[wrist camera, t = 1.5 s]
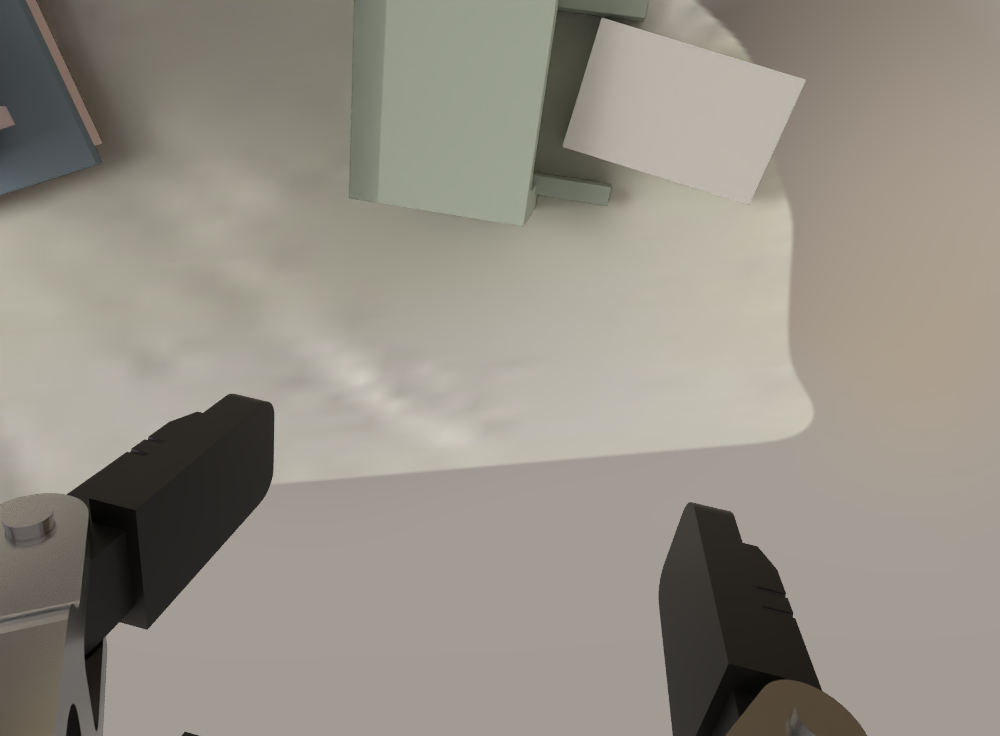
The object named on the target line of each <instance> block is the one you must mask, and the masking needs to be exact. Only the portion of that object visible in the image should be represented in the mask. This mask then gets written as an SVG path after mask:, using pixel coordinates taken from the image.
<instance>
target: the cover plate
mask: <svg viewBox="0 0 1000 736" xmlns="http://www.w3.org/2000/svg"><path fill="white" fill-rule="evenodd" d="M805 81H806V80H805V79H802V78H799V77H795V76H792V75H789V74H785V73H782V72H779V71H776V70H772V69H769V68H766V67H763V66H759V65H756V64H753V63H750V62H746V61H743V60H740V59H736V58H733V57H730V56H727V55H723V54H720V53H717V52H713V51H710V50H707V49H704V48H700V47H697V46H694V45H691V44H687V43H684V42H681V41H677V40H674V39H671V38H668V37H664V36H661V35H658V34H655V33H651V32H648V31H645V30H641V29H638V28H635V27H632V26H628V25H625V24H622V23H618V22H615V21H612V20H609V19H605V18H601V21H600V25H599V28H598V31H597V35H596V38H595V41H594V44H593V48H592V51H591V54H590V57H589V61H588V64H587V67H586V71H585V74H584V77H583V80H582V84H581V87H580V90H579V93H578V97H577V100H576V103H575V107H574V110H573V113H572V116H571V120H570V123H569V126H568V130H567V133H566V136H565V139H564V143H563V146H562V147H564V148H568V149H571V150H574V151H577V152H580V153H584V154H587V155H590V156H593V157H596V158H600V159H603V160H606V161H609V162H612V163H616V164H619V165H622V166H625V167H628V168H631V169H635V170H638V171H641V172H644V173H647V174H651V175H654V176H657V177H660V178H663V179H667V180H670V181H673V182H676V183H679V184H683V185H686V186H689V187H692V188H695V189H699V190H702V191H705V192H708V193H711V194H715V195H718V196H721V197H724V198H727V199H731V200H734V201H737V202H740V203H743V204H747V205H750V202H751V200H752V198H753V196H754V194H755V191H756V189H757V187H758V185H759V183H760V180H761V178H762V176H763V174H764V172H765V169H766V167H767V165H768V163H769V161H770V158H771V156H772V154H773V152H774V150H775V147H776V145H777V143H778V141H779V139H780V136H781V134H782V132H783V130H784V127H785V125H786V123H787V121H788V119H789V116H790V114H791V112H792V110H793V107H794V105H795V103H796V101H797V99H798V96H799V94H800V92H801V90H802V88H803V86H804V83H805Z"/></svg>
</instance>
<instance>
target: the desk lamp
mask: <svg viewBox="0 0 1000 736" xmlns="http://www.w3.org/2000/svg"><path fill="white" fill-rule="evenodd" d="M99 144H102V141H101V139H100V137H99V135H98V132H97V130H96V128H95V126H94V124H93V122H92V120H91V117H90V115H89V113H88V111H87V109H86V107H85V105H84V102H83V100H82V98H81V96H80V94H79V92H78V90H77V87H76V85H75V83H74V81H73V79H72V77H71V74H70V72H69V70H68V68H67V66H66V64H65V62H64V59H63V57H62V55H61V53H60V51H59V49H58V47H57V44H56V42H55V40H54V38H53V36H52V34H51V32H50V29H49V27H48V25H47V23H46V21H45V19H44V17H43V14H42V12H41V10H40V8H39V6H38V4H37V2H36V0H0V196H1V195H4V194H7V193H10V192H13V191H17V190H20V189H23V188H26V187H29V186H32V185H35V184H38V183H42V182H45V181H48V180H51V179H54V178H57V177H60V176H63V175H67V174H70V173H73V172H76V171H79V170H82V169H85V168H89V167H92V166H95V165H98V164H101V163H102V161H101V159H100V156H99V154H98V152H97V150H96V148H95V146H96V145H99Z"/></svg>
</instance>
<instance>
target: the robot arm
mask: <svg viewBox="0 0 1000 736" xmlns="http://www.w3.org/2000/svg"><path fill="white" fill-rule="evenodd" d="M273 462H274V409H273V406H272V404H271V403H270V402H266V401H262V400H258V399H254V398H249V397H245V396H241V395H237V394H229V395H227V396H225V397H224V398H223V399H221V400H220V401H219V402H217V403H216V404H215V405H213V406H212V407H211V408H209V409H208V410H207V411H205V412H204V413H201V412H195V413H193V414H190V415H187V416H184V417H182V418H179V419H176V420H173V421H171V422H169V423H167V424H166V425H164V426H163V427H162V428H160V429H159V430H157V431H156V432H155V433H153V434H152V435H150V436H149V438H148V440H143V441H142V442H140V443H139V444H138V445H136V446H135V447H133V448H132V449H131V452H130V453H129V452H126V453H125V454H123V455H122V456H121V457H119V458H118V459H116V460H115V461H113V462H112V463H111V464H109V465H108V466H106V467H105V468H104V469H102V470H101V471H99V472H98V473H96V474H95V475H94V476H92V477H91V478H89V479H88V480H87V481H85V482H84V483H82V484H81V485H80V486H78V487H77V488H75V489H74V490H72V491H71V492H70V493H68V494H67V495H65V494H57V493H44V494H35V495H29V496H24V497H20V498H16V499H13V500H10V501H7V502H4V503H2V504H0V736H103V722H104V703H105V683H106V664H107V641H106V635H107V634H108V633H109V632H110V631H111V630H112V629H113V628H114V627H115V626H116V625H117V624H118V623H119V622H122V623H125V624H129V625H133V626H136V627H140V628H144V629H148V628H149V627H150V626H151V625H152V624H153V623H154V622H155V620H156V619H157V618H158V617H159V616H160V615H161V614H162V613H163V611H164V610H165V609H166V608H167V607H168V606H169V605H170V604H171V602H172V601H173V600H174V599H175V598H176V597H177V596H178V594H179V593H180V592H181V591H182V590H183V589H184V588H185V587H186V586H187V585H188V583H189V582H190V581H191V580H192V579H193V578H194V577H195V576H196V574H197V573H198V572H199V571H200V570H201V569H202V568H203V567H204V565H205V564H206V563H207V562H208V561H209V560H210V559H211V557H212V556H213V555H214V554H215V553H216V552H217V551H218V550H219V549H220V547H221V546H222V545H223V544H224V543H225V542H226V541H227V540H228V538H229V537H230V536H231V535H232V534H233V533H234V532H235V530H236V529H237V528H238V527H239V526H240V525H241V524H242V523H243V522H244V520H245V519H246V518H247V517H248V516H249V515H250V514H251V512H252V511H253V510H254V509H255V508H256V507H257V506H258V505H259V504H260V502H261V501H262V500H263V498H264V497H265V495H266V493H267V491H268V489H269V486H270V484H271V480H272V476H273ZM785 594H786V592H785V590H784V587H783V584H782V582H781V579H780V577H779V574H778V571H777V569H776V568H775V567H774V566H773V565H772V563H771V562H770V561H769V560H768V559H767V557H766V556H765V555H764V554H763V552H762V551H761V550H760V549H759V548H758V547H757V546H753V545H749V544H745V543H742V540H741V537H740V534H739V530H738V527H737V524H736V520H735V517H734V515H733V513H731V512H730V511H726V510H722V509H717V508H713V507H709V506H704V505H700V504H696V503H692V502H690V503H688V504H687V505H686V507H685V509H684V511H683V514H682V516H681V519H680V522H679V525H678V527H677V530H676V533H675V536H674V538H673V542H672V544H671V547H670V550H669V552H668V555H667V558H666V561H665V564H664V566H663V570H662V574H661V578H660V585H659V607H660V618H661V627H662V637H663V646H664V655H665V665H666V675H667V683H668V693H669V702H670V712H671V722H672V731H673V736H867V735H866V733H865V731H864V730H863V728H862V727H861V725H860V724H859V723H858V721H857V720H856V719H855V718H854V717H853V716H852V714H851V713H850V712H848V710H847V709H846V708H844V707H843V706H842V705H841V704H840V703H839V702H837V701H836V700H835V699H834V698H832V697H831V696H829V695H828V694H826V693H824V692H823V691H822V689H821V686H820V684H819V681H818V678H817V676H816V673H815V671H814V668H813V665H812V662H811V660H810V657H809V655H808V652H807V649H806V646H805V644H804V641H803V638H802V635H801V633H800V630H799V627H798V625H797V622H796V619H795V618H793V611H792V609H791V606H790V603H789V601H788V598H785ZM182 736H198V735H194V734H191V733H187V732H184V734H183V735H182Z"/></svg>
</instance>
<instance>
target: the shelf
mask: <svg viewBox="0 0 1000 736" xmlns="http://www.w3.org/2000/svg"><path fill="white" fill-rule="evenodd" d="M647 5H648V0H354V31H353V69H352V107H351V145H350V183H349V198H351V199H357V200H364V201H370V202H376V203H382V204H388V205H394V206H400V207H406V208H412V209H418V210H424V211H431V212H437V213H443V214H449V215H455V216H461V217H467V218H473V219H479V220H485V221H492V222H498V223H504V224H510V225H516V226H522V227H523V226H524V225H525V223H526V222H527V220H528V219H529V217H530V216H531V214H532V212H533V211H534V209H535V205H536V199H537V195H540V196H546V197H553V198H559V199H565V200H572V201H578V202H584V203H590V204H597V205H603V206H607V205H608V200H609V195H610V190H611V184H607V183H601V182H594V181H588V180H581V179H575V178H568V177H562V176H556V175H549V174H543V173H536V172H533V171H534V164H535V158H536V151H537V144H538V137H539V131H540V124H541V117H542V110H543V103H544V97H545V90H546V83H547V76H548V70H549V63H550V56H551V49H552V42H553V36H554V29H555V22H556V15H557V11H565V12H572V13H580V14H588V15H595V16H603V17H611V18H618V19H626V20H633V21H641V22H643V21H644V19H645V15H646V10H647Z"/></svg>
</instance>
